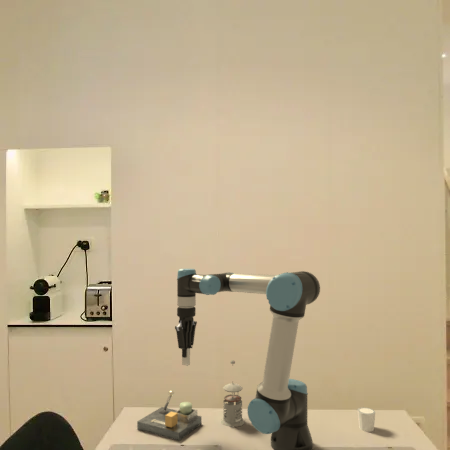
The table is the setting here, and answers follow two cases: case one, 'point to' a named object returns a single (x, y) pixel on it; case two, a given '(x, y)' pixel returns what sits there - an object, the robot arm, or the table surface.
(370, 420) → the white cylinder
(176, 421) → the yellow cube
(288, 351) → the robot arm
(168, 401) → the toggle lever
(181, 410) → the push button
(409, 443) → the table surface
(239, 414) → the french press
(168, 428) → the panel
